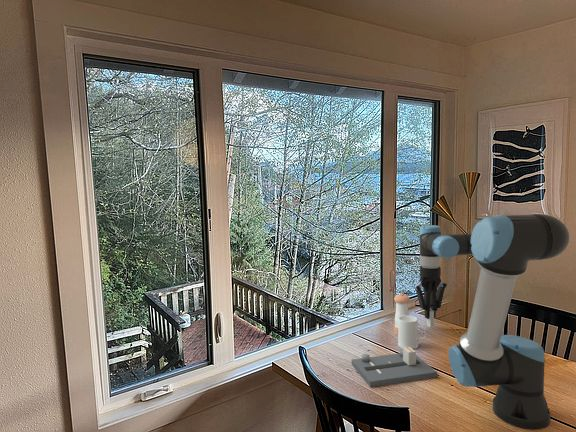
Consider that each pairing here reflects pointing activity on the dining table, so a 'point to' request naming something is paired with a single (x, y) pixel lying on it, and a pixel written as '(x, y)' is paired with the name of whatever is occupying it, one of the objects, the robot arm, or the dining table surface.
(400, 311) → the pepper shaker
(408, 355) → the fader tab
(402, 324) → the mug
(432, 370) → the console board
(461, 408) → the dining table surface
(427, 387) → the dining table surface
